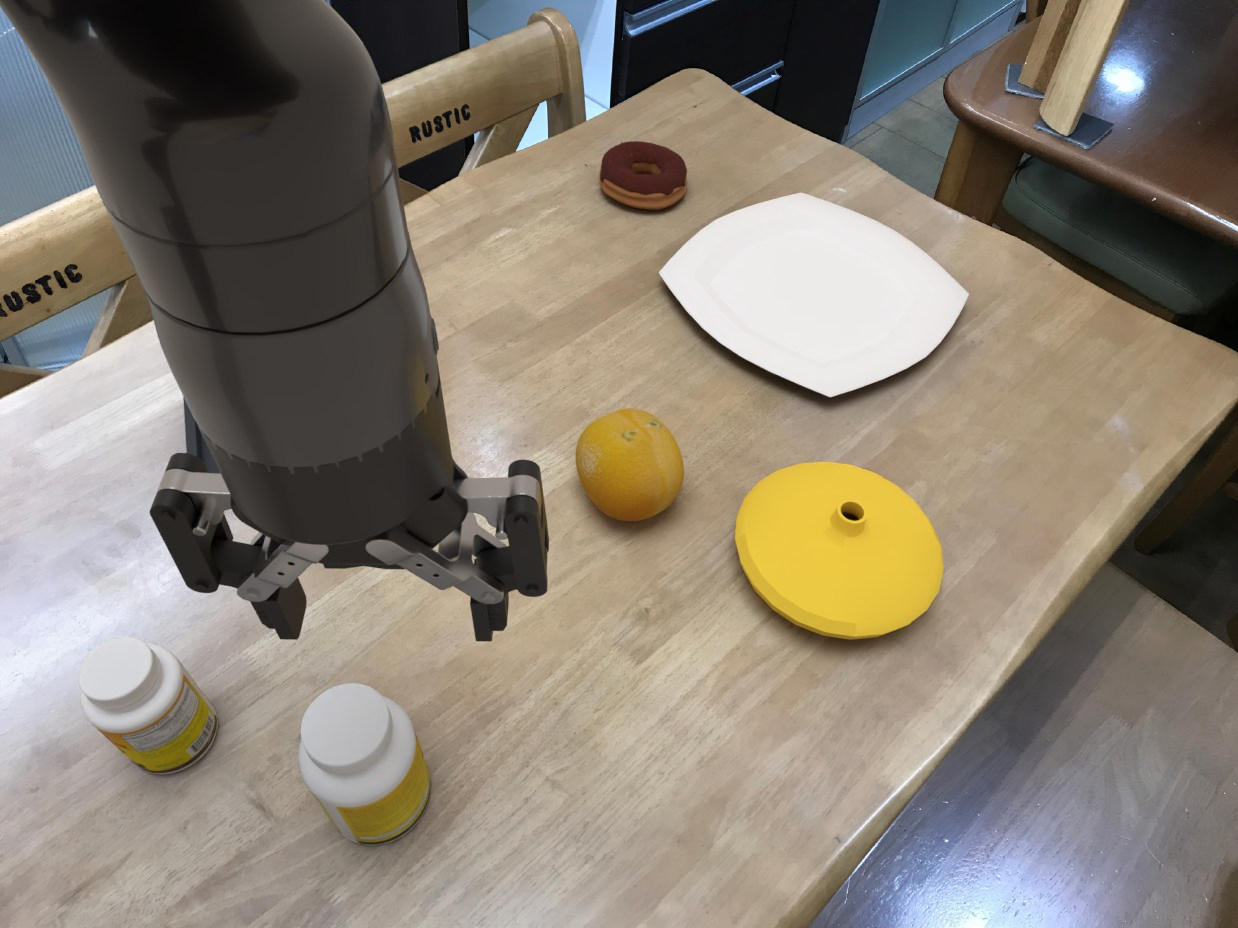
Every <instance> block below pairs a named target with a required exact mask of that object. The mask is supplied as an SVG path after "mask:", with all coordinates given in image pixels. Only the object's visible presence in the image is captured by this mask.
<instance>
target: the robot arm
mask: <svg viewBox="0 0 1238 928" xmlns="http://www.w3.org/2000/svg"><path fill="white" fill-rule="evenodd" d="M0 9H1V10H2V12H3V13H4V15H5V16H6V17H7V19H8V21H9V22H10V23H11V25H12V27H13V28H14V29H15V31H16V32H17V33H18V35H19V37H20V38H21V40H22V41H23V43H24V44H25V47H26V48H27V49H28V51H29V53H30V54H31V55H32V57H33V59H34V60H35V62H36V64H37V65H38V67H39V69H40V70H41V72H42V73H43V75H44V77H45V78H46V80H47V82H48V84H49V85H50V88H51V89H52V91H53V93H54V94H55V96H56V99H57V100H58V102H59V103H60V104H59V105H61V107H62V109H63V111H64V113H65V115H66V117H67V119H68V120H69V123H70V126H71V128H72V129H73V132H74V134H75V137H76V138H77V141H78V144H79V146H80V150H81V152H82V155H83V158H84V160H85V164H86V166H87V168H88V171H89V173H90V175H91V178H92V181H93V184H94V186H95V188H96V190H97V194H98V195H99V197H100V199H101V201H102V204H103V206H104V209H105V211H106V213H107V214H108V217H109V219H110V221H111V223H112V226H113V227H114V229H115V232H116V234H117V236H118V239H119V240H120V243H121V245H122V247H123V249H124V250H125V253H126V256H127V257H128V259H129V262H130V263H131V265H132V268H133V270H134V273H135V275H136V276H137V278H138V281H139V283H140V286H141V287H142V289H143V291H144V293H145V295H146V299H147V302H148V305H149V308H150V312H151V315H152V320H153V324H154V327H155V328H154V329H155V332H156V336H157V338H158V341H159V345H160V348H161V351H162V352H163V355H164V357H165V360H166V362H167V364H168V368H169V369H170V372H171V375H172V376H173V378H174V380H175V383H176V384H177V386H178V388H179V390H180V393H181V395H182V397H184V399H185V401H186V403H187V405H188V407H189V409H190V411H191V413H192V415H193V417H194V419H195V421H196V423H197V425H198V428H199V430H200V432H201V434H202V436H203V438H204V440H205V442H206V444H207V446H208V448H209V450H210V453H211V455H212V457H213V459H214V461H215V463H216V465H217V467H218V469H219V471H220V473H221V474H219V473H208V472H207V469H206V467H205V464H204V462H203V461H202V460H201V459H200V458H198V457H196V456H194V455H192V454H188V453H187V452H177V453H173V454H172V455H171V456H170V458H169V460H168V462H167V465H166V468H165V471H164V473H163V476H162V477H161V481H160V483H159V485H158V488H157V490H156V494H155V496H154V499H153V501H152V504H151V506H150V509H149V516H150V517H151V519H152V522H153V523H154V525H155V527H156V529H157V531H158V533H159V535H160V537H161V539H162V540H163V543H164V545H165V547H166V548H167V550H168V552H169V554H170V557H171V558H172V560H173V562H174V565H175V566H176V568H177V570H178V573H179V574H180V576H181V578H182V580H183V582H184V584H185V586H186V587H187V588H188V589H190V590H191V591H193V592H197V593H200V594H212V593H216V592H217V591H218V589H219V586H225V587H229V588H234V589H236V595H237V596H238V597H239V598H241V599H242V600H245V601H247V602H250V605H251V606H252V608H253V610H254V612H255V613H256V615H257V617H258V619H259V621H260V623H261V625H263V626H265V627H266V628H267V629H269V630H275V633H276V635H277V636H278V638H279V640H289V641H291V640H294V641H295V640H299V638H300V635H301V632H302V628H303V623H304V620H305V619H304V618H305V615H306V610H307V605H308V603H307V599H308V598H307V595H306V592H305V590H304V588H303V586H302V583H301V581H300V579H299V577H300V576H301V575H302V574H303V573H305V571H306V570H307V569H309V567H311V566H312V565H313V564H314V565H317V564H321V565H323V568H324V570H325V569H326V570H327V569H329V570H331V569H332V570H333V569H334V570H335V569H338V570H339V569H340V570H346V569H353V568H360V567H366V568H367V567H368V568H375V569H382V570H406V571H408V572H410V573H411V574H413V575H415V576H416V577H418V578H419V579H421V580H423V581H425V582H426V583H428V584H429V585H431V586H433V587H435V588H436V589H438V590H439V591H445V590H447V589H449V588H452V587H454V588H455V589H457V590H458V591H460V592H462V593H464V594H465V595H467V596H469V597H470V600H469V607H470V613H471V618H472V627H473V631H474V632H473V633H474V638H475V642H492V641H493V636H494V632H504V630H506V628H507V627H508V617H509V616H508V615H509V602H510V600H509V599H510V595H509V593H510V592H512V591H517V592H518V593H519V594H521V595H522V596H525V597H528V598H538V597H541V596H544V595H545V594H547V592H548V582H549V581H548V580H549V579H548V553H549V550H550V536H549V534H550V533H549V528H548V527H549V526H548V519H547V518H548V517H547V511H546V504H545V496H544V488H543V480H542V473H541V467H540V465H539V464H538V463H537V462H535V461H533V460H530V459H516V460H514V461H512V462H511V463H510V464H509V465H508V470H507V477H468V474H467V473H466V472H465V471H464V470H463V468H461V466H459V465H458V464H457V463H456V461H455V459H454V457H453V454H452V447H451V442H450V441H451V440H450V434H449V427H448V421H447V414H446V407H445V402H444V400H445V399H444V395H443V389H442V387H443V386H442V381H441V373H440V368H439V361H438V352H439V350H440V344H439V339H438V333H437V327H436V322H435V319H434V318H433V317H432V315H431V310H430V304H429V303H430V302H429V298H428V293H427V289H426V286H425V282H424V279H423V276H422V273H421V270H420V268H419V264H418V261H417V259H416V255H415V252H414V250H413V246H412V245H413V244H412V241H411V236H410V232H409V228H408V222H407V215H406V210H405V203H404V198H403V192H402V191H403V190H402V185H401V180H400V174H399V173H400V172H399V168H398V161H397V155H396V147H395V140H394V133H393V127H392V122H391V117H390V112H389V106H388V103H387V99H386V96H385V91H384V88H383V85H382V81H381V79H380V76H379V74H378V71H377V69H376V67H375V64H374V61H373V59H372V57H371V54H370V53H369V51H368V49H367V48H366V46H365V44H364V42H363V41H362V40H361V38H360V37H359V36H358V34H357V33H356V32H355V31H354V29H353V28H352V27H351V26H350V25H349V24H348V23H347V21H345V19H344V18H343V17H342V16H341V15H340V14H339V13H338V12H337V11H336V10H335V8H333V7H332V6H331V5H330V4H329V3H328V2H327V1H326V0H0ZM184 399H183V400H184ZM229 510H231V511H232V513H233V514H234V516H235V517H236V518H237V519H238V520H239V521H240V522H242V523H243V524H245V525H246V526H248V527H249V528H252V530H255V531H257V532H258V533H257V534H256V535H255V536H254V537H253V538H252V539H251V541H250V543H246V542H240V541H235V540H234V535H233V532H232V529H231V527H230V524H229V522H228V521H227V520H228V519H227V517H226V515H225V511H229ZM475 514H477V515H480V516H482V517H483V518H485V519H486V521H487V523H488V525H490V526H491V527H492V528H494V529H495V536H494V535H493V534H492V533H490V532H489V531H487V530H486V529H485V528H484V527H482V526H481V525H479V523H478V521H477V517H476V515H475ZM504 540H507V541H508V545H507V544H506V543H505V542H503V541H504ZM437 546H438V548H437V551H436V549H434V548H436V547H437ZM473 557H475V558H474V560H473Z"/></svg>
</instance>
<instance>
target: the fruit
mask: <svg viewBox="0 0 1238 928" xmlns="http://www.w3.org/2000/svg"><path fill="white" fill-rule="evenodd" d="M575 468H576V472H577V475H578V479H579V482H580V484H581V486H582V488H583V490H584V492H585V494H586V495H587V496H588V498H589V499H590V500H591V502H592V503H593V504H594V506H596V508H598V510H600V511H601V512H602V513H604V514H605V515H606V516H608V517H610V518H612V519H614V520H618V521H622V522H639V521H644V520H647V519H650V518H652V517H654V516H656V515H658V514H660V513H662V512H663V511H664V510H665V509H667V508H668V507H669V506H670V505H671V504H672V503H673V502H674V501H675V500H676V498H677V497H678V495H679V494H680V492H681V489H682V487H683V484H684V478H685V465H684V460H683V456H682V453H681V449H680V447H679V444H678V442H677V440H676V438H675V437H674V435H673V433H672V432H671V430H669V428H668V427H667V426H666V425H665V424H664V423H663V422H662V421H661V420H660V418H658V417H657V416H656V415H654V414H652V413H650V412H648V411H645V410H643V409H638V408H622V409H617V410H615V411H612V412H609V413H607V414H604V415H602V416H600V417H598V418H596V419H595V420H593V421H592V422H590V423H589V425H587V426H586V427H585V428H584V429H583V431H582V432H581V433H580V435H579V437H578V440H577V443H576V448H575Z"/></svg>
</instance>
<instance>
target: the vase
mask: <svg viewBox="0 0 1238 928" xmlns="http://www.w3.org/2000/svg"><path fill="white" fill-rule="evenodd" d="M939 539H940V538H939V536H938V534H937V532H936V530H935V527H934V525H933V523H932V522H931V520H930V519H929V518H928V516H927V515H926V514H925V512H924V511H923V509H922V508H921V507H920V506H919V504H918V502H916V501H915V500H914V499H913V498H912V497H911V496H909V495H908V494H907V493H906V492H905V491H904V490H902V489H901V487H899V486H898V485H897V484H895V483H894V482H892V481H890V480H888V479H887V478H885V477H883V476H881V475H880V474H878V473H876V472H873V471H871V470H868V469H865V468H861V467H859V466H856V465H853V464H849V463H841V462H834V461H813V462H802V463H801V462H799V463H796V464H792V465H790V466H787V467H784V468H780V469H777V470H775V471H773V472H772V473H771V474H769V475H767V476H765V477H764V478H762V479H760V480H759V481H758V482H757V483H756V484H755V485H754V486H753V487H752V489H750V491H749V492H748V493H747V494H746V495H745V496H744V498H743V501H742V503H741V506H740V508H739V510H738V513H737V514H736V519H735V533H734V541H735V546H736V548H737V553H738V557H739V562H740V565H741V567H742V570H743V572H744V574H745V576H746V577H747V579H748V581H749V583H750V585H751V587H752V588H753V590H754V592H755V593H757V595H758V596H759V597H760V598H761V599H762V600H763V601H764V602H765V603H766V604H767V605H768V606H769V608H771V609H772V610H773V611H774V612H776V613H777V614H779V615H780V616H781V617H783V618H785V619H786V620H788V621H789V622H790V623H792V624H794V625H795V626H797V627H800V628H802V629H804V630H808V631H810V632H812V633H815V634H817V635H820V636H825V637H831V638H839V639H844V640H860V639H872V638H878V637H881V636H884V635H886V634H889V633H891V632H894V631H897V630H899V629H902V628H904V627H906V626H909V625H910V624H911V623H913V622H914V621H915V620H916V619H918V618H919V617H920V616H922V615H923V614H924V613H926V612H927V611H928V609H929V608H930V606H931V604H932V603H933V601H934V600H935V598H936V597H937V595H938V593H940V588H941V584H942V580H943V574H944V570H945V565H944V555H943V548H942V547H943V546H942V544H941V541H940V540H939Z"/></svg>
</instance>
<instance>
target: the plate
mask: <svg viewBox="0 0 1238 928" xmlns="http://www.w3.org/2000/svg"><path fill="white" fill-rule="evenodd" d="M658 275H659V276H660V278H661V279H662V281H663V282H664V283H665V285H666V286H667V288H668V290H669V291H670V292H671V293H672V296H674V297H675V299H676V300H677V301H678V302H679V304H680V305H681V306H682V308H683V309H684V310H685V312H687V314H688V315H689V316H690V317H691V318H692V319H693V320H694V321H695V322H696V324H697V325H698V326H699V327H700V328H701V329H702V330H703V331H704V332H705V333H706V334H707V335H709V336H710V337H711V338H713V339H714V340H715V341H716V342H717V343H718V344H720V346H722V347H724V348H726V349H727V350H728V351H730V352H732V353H733V354H735V355H736V356H738V357H739V358H741V359H742V360H744V361H746V362H748V363H751V364H752V365H754V366H755V367H758V368H760V369H761V370H764V371H766V372H768V373H769V374H772V375H774V376H776V377H778V378H781V379H783V380H785V381H788V382H790V383H792V384H795V385H797V386H799V387H802V388H804V389H807V390H809V391H811V392H813V393H816V394H818V395H821V396H823V397H825V398H827V399H831V398H834V397H838V396H841V395H845V394H847V393H850V392H853V391H857V390H859V389H861V388H864V387H867V386H871V385H873V384H875V383H877V382H881V381H883V380H885V379H888V378H890V377H893V376H894V375H896V374H898V373H900V372H903V371H905V370H907V369H908V368H910V367H912V366H914V365H915V364H917V363H919V362H920V361H922V360H923V359H925V358H926V357H928V356H929V355H930V354H931V353H932V351H934V350H935V349H936V348H937V347H938V346H939V345H940V344H941V343H942V341H943V340H944V338H945V337H946V336H947V335H948V334H949V332H950V331H951V329H952V328H953V326H954V324H955V323H956V321H957V319H958V318H959V316H960V314H961V312H962V310H963V308H964V306H965V304H966V302H967V300H968V298H969V296H970V293H969V292H968V291H967V290H966V289H965V288H964V287H963V286H962V285H961V284H960V283H959V282H958V281H957V280H956V279H955V278H954V277H953V276H952V275H951V274H949V272H947V270H945V269H944V267H942V266H941V265H940V264H939V263H938V262H937V261H935V259H933V257H931V255H929V254H928V253H926V252H925V251H924V250H923V249H922V248H920V247H919V246H918V245H916V243H914V242H913V241H911V240H910V239H908V238H906V236H904V235H902V234H901V233H899V232H897V231H896V230H895V229H892V228H890V227H889V226H887V225H885V224H883V223H881V222H879V221H877V220H876V219H873V218H871V217H869V216H866V215H864V214H861V213H859V212H857V211H855V210H852V209H849V208H846V207H844V206H841V205H839V204H836V203H833V202H830V201H828V200H826V199H823V198H819V197H817V196H814V195H810V194H807V193H804V192H796V193H793V194H789V195H785V196H780V197H776V198H773V199H769V200H766V201H765V200H764V201H762V202H758V203H755V204H752V205H749V206H745V207H743V208H740V209H737V210H734V211H732V212H730V213H727V214H725V215H723V216H720V217H718V218H716V219H714V220H713V221H711V222H710V223H708V224H707V225H706V226H704V227H703V228H701V229H700V230H698V232H697V233H696V234H694V235H693V236H692V237H690V238H689V239H688V240H687V241H686V242H685V243H683V245H682V246H681V247H680V248H679V249H678V250H677V251H676V252H675V254H673V255H672V256H671V257H670V258H669V260H668V261H667V262H666V264H664V266H663V267H662V268H661V269H659V272H658Z"/></svg>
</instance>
